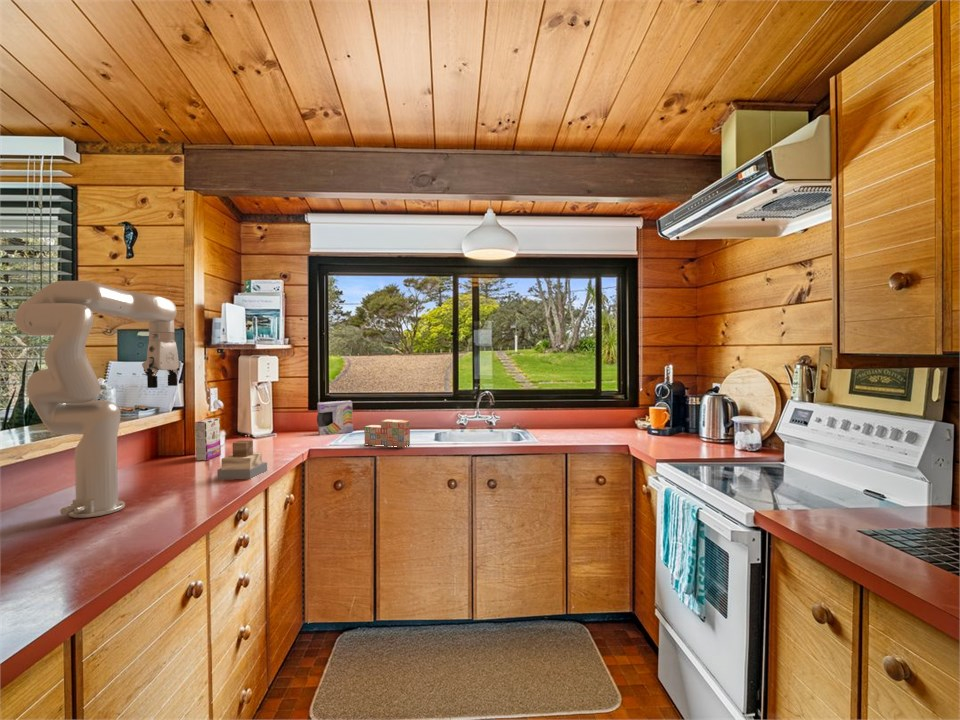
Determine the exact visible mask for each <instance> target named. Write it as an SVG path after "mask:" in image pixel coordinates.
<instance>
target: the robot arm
mask: <svg viewBox="0 0 960 720" xmlns="http://www.w3.org/2000/svg"><path fill="white" fill-rule="evenodd" d="M177 310H178V309H177V306H176V304H175V303H174V301H172V300H171V299H169V298H165V297H163V296H158V295H154V294H149V293H144V292H143V293H142V292H136V291H132V290H131V291H130V290H125V289H120V288H117V287H113V286H109V285H106V284H103V283H100V282H96V281H91V280H57V281H53V282H52V283H49V284H47V285H46V286H44V287H43V288H42V289H40V290H38V291H37V292H35V294H33V295H32V296H30V297H29V298H28V299H27V300H26V301H24V302H23V303H22V304H21V305H20V306H19V307H18V308H17V310H16V311H15V314H14V323H15V326H16V328H17V329H18V330H19V331H21V332H22V333H24V334H26V335H30V336H36V337H37V336H45V337H46V336H53V337H52V338H51V341H50V342H49V344H48V345H47V347H46V349H45V352H44V363H45V364H46V367H47V368H45V369H44V368H43V369H40V370H36V371H35V372H34V373H32V374H31V375H30V376H29V378H28V379H27V382H26V394H27V397H28V399H29V401H30V403H31V405H32V406H33V408H34V410H35V411H36V414H37V415H38V416H39V418H40V420H41V422H42V424H43V425H44V426H45V427H46V429H47V430H48V431H49V432H51V433H53V434H55V435H56V434H57V435H65V436H66V435H82V437H81V439H80V440H79V441H78V443H77V445H76V447H75V449H74V475H75V476H74V477H75V478H74V479H75V480H74V481H75V499H72V503H71V504H70V505H67V506H64V507H62V508H60V511H59V513H60V514H61V515H62V516H66V515H68V517H71V518H75V519H85V518H94V517H100V516H105V515H109V514H113V513H116V512H118V511H121V510H123V509H124V508H125V506H126V503H125V501H123V500H119V478H118V477H119V476H118V474H119V472H118V470H119V469H118V435H119V427H120V423H121V415H122V413H121V410H120V408H119V406H118V405H117V404H116V403H114V402H112V401H108V400H103V399H102V400H101V399H100V400H97V398H98V397H99V396H100V395H101V390H102V389H101V384H100V382H99V379H98V377H97V375H96V373H95V370H94V368H93V366H92V365H91V363H90V359H89V358H88V355H87V353H86V345H87V340H88V337H89V335H90V332H91V330H92V328H93V326H94V320H95V319H94V314H93V313H95V314H101V315H105V316H110V317H113V318H123V319H125V318H126V319H130V320H132V321H133V322H136V323H137V322H138V323H148V344H147V352H146V360H145V361H144V362H142V363H141V366H142V368H143V372H144V373H145V376H146V380H147V382H146V383H147V384H146V385H147V389H152V388H153V389H154V388H155V389H157V388H158V387H159V386H158V375H157V374H158V372H159V371H167V373H168V374H167V386H169V387H174V386H175V387H176V386H178V375H179V372H180V367H181V365H182V362H181V361H180V360H179V352H178V346H177V342H176V340H175V339H176V338H175V337H176V336H175V335H176V334H175V318H176V317H177V315H178V314H177V312H178V311H177Z"/></svg>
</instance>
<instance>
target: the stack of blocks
mask: <svg viewBox="0 0 960 720" xmlns="http://www.w3.org/2000/svg"><path fill="white" fill-rule="evenodd" d="M410 424H411V421H410V420H404V419H384V420H381V421H380V425H379V424H370V425H366V426H363V427H364V430H363V431H364V432H363V433H364V445H365V444H368V445H384V446H393V447H392V448H394V446H397V447H402V448H401V449H405V448H404V447H405V446H407V445H410V446H411V438H410V437H411V426H410Z"/></svg>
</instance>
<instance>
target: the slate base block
mask: <svg viewBox="0 0 960 720" xmlns="http://www.w3.org/2000/svg"><path fill="white" fill-rule="evenodd" d="M266 471H267V472H268V462H267V461H266V462H264V461H263V462H262V463H261V464H259V465H257V466H255V467H254V468H252V469H242V470H222V467H221V468H219V469H217V472H216V473H217V480H234V479H250V480H252V479H251V478H253V477H255V476H257V475H259V474H261V473H263V474H265V473H266ZM264 472H265V473H264ZM261 475H262V474H261ZM259 476H260V475H259ZM257 477H258V476H257ZM255 478H256V477H255ZM253 479H254V478H253Z"/></svg>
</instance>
